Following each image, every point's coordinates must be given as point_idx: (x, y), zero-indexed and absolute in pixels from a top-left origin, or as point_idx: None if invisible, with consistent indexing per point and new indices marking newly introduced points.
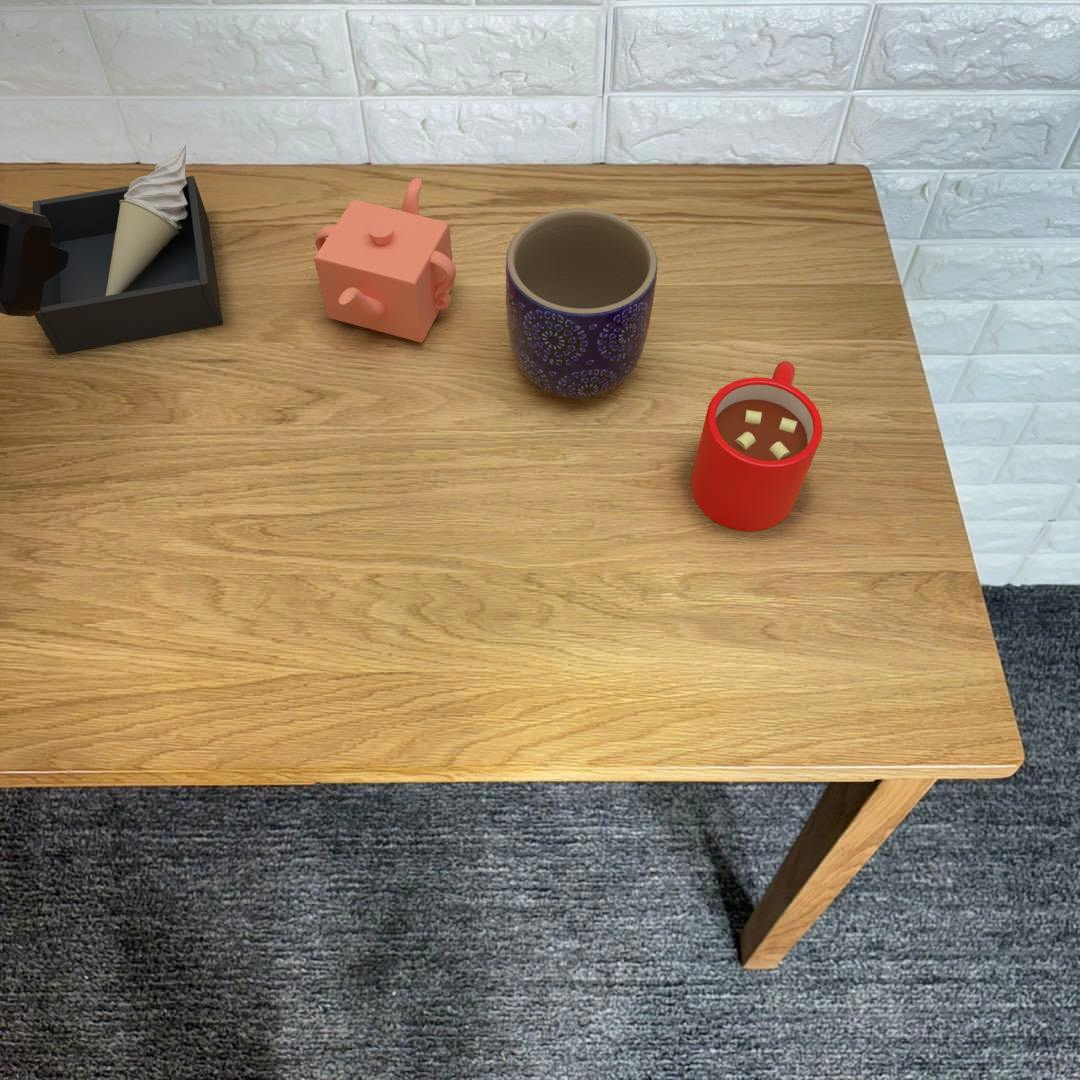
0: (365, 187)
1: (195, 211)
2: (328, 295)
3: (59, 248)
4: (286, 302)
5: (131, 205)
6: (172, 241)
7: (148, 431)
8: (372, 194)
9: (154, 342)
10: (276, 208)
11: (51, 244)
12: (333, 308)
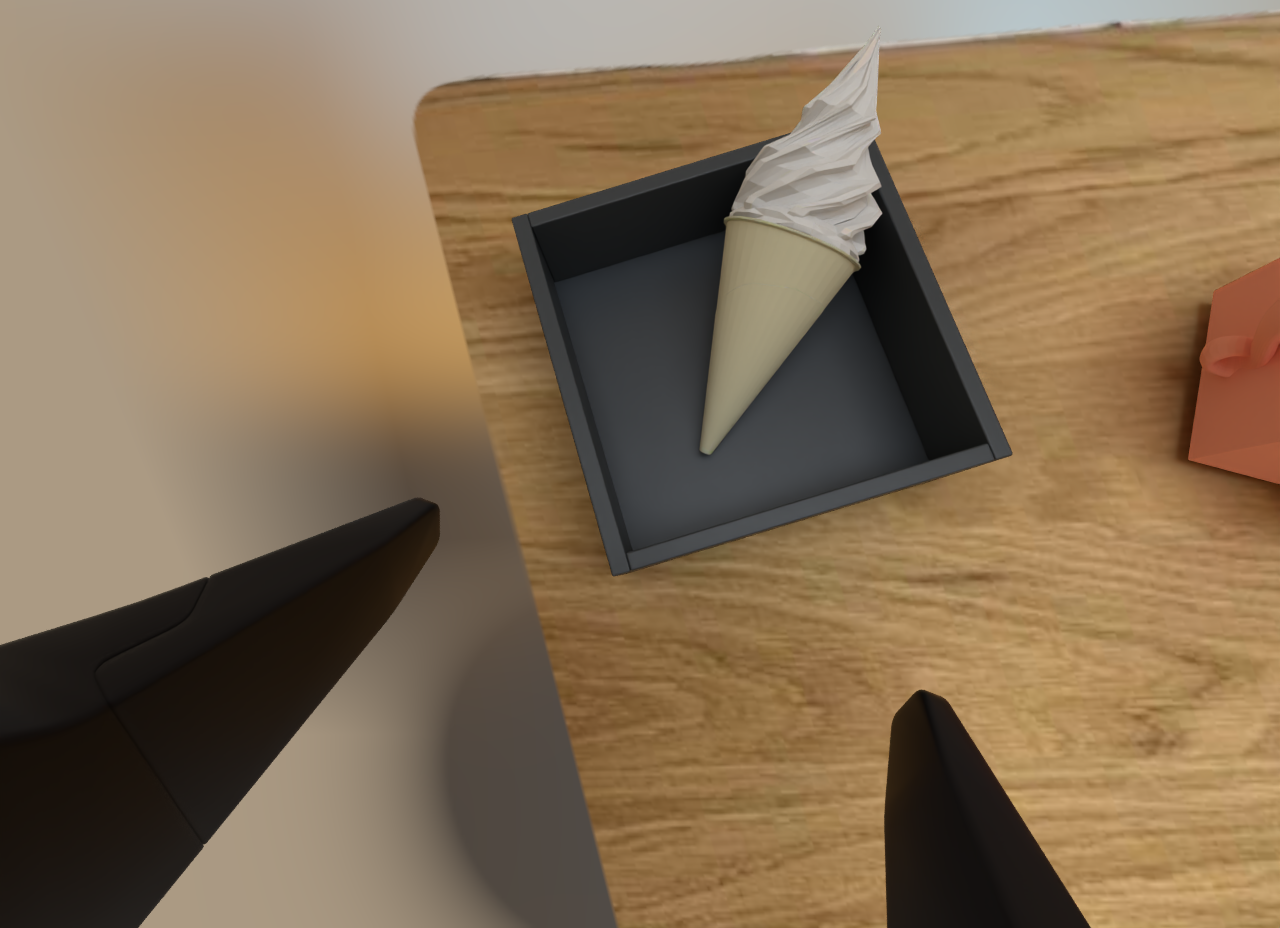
0: (1129, 87)
1: (904, 222)
2: (1277, 448)
3: (1003, 791)
4: (1059, 408)
5: (787, 236)
6: None
7: (871, 781)
8: (1150, 104)
9: (812, 531)
10: (958, 157)
11: (1073, 900)
12: (1242, 458)
